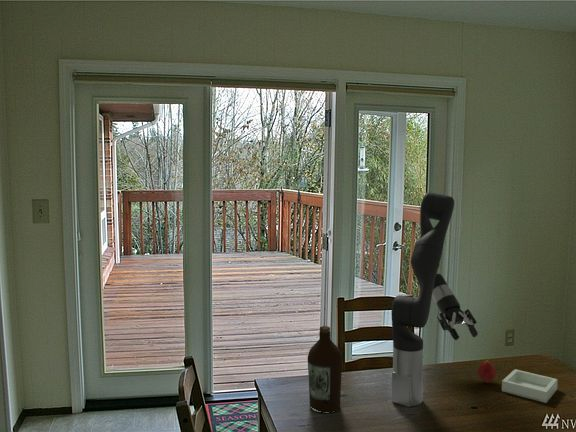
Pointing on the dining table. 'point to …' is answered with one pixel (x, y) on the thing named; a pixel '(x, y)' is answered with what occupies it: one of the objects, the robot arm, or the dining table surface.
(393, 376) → the robot arm
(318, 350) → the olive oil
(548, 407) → the dining table surface
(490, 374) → the onion
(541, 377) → the bin
